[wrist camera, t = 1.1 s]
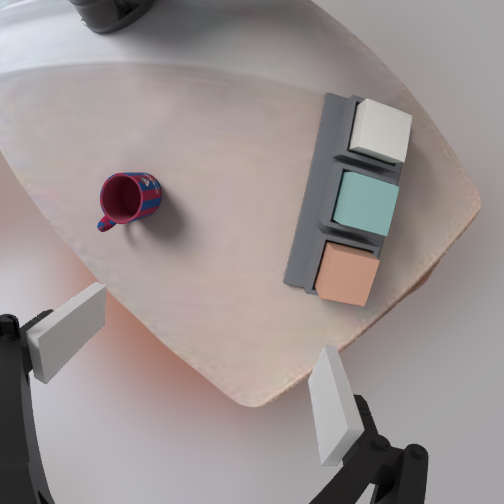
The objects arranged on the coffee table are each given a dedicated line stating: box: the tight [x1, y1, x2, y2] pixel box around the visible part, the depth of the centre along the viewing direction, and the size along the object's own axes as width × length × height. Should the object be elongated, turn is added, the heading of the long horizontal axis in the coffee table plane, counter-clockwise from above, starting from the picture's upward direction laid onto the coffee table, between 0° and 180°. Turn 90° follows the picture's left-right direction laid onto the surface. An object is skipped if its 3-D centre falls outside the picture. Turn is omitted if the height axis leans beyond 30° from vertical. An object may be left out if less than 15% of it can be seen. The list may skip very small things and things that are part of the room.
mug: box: [97, 173, 161, 232], centre depth 39 cm, size 7×10×7 cm
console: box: [283, 93, 403, 296], centre depth 37 cm, size 28×13×6 cm, turn 168°
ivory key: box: [347, 98, 412, 163], centre depth 31 cm, size 6×6×5 cm
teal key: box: [331, 172, 399, 236], centre depth 34 cm, size 6×6×5 cm
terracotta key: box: [314, 240, 380, 307], centre depth 36 cm, size 6×6×5 cm
